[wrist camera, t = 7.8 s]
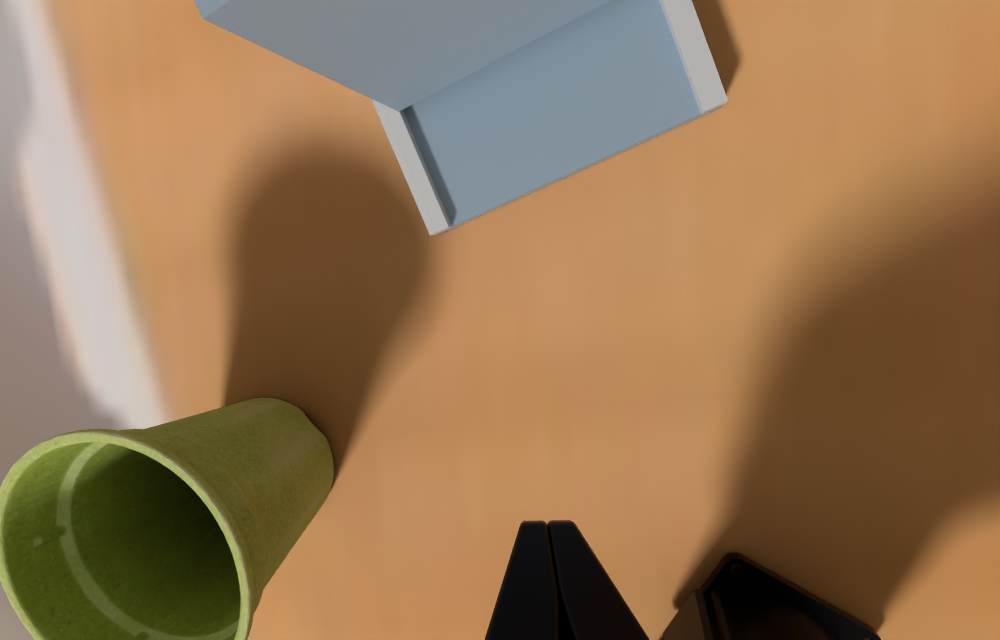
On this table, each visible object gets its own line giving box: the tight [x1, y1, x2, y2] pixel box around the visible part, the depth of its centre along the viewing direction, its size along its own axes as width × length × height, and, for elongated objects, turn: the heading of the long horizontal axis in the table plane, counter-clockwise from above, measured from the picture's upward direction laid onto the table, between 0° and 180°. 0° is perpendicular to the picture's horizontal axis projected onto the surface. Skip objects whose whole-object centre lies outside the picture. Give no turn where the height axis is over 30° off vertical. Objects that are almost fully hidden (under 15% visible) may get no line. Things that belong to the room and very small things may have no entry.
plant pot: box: [0, 398, 334, 640], centre depth 22 cm, size 9×9×9 cm
